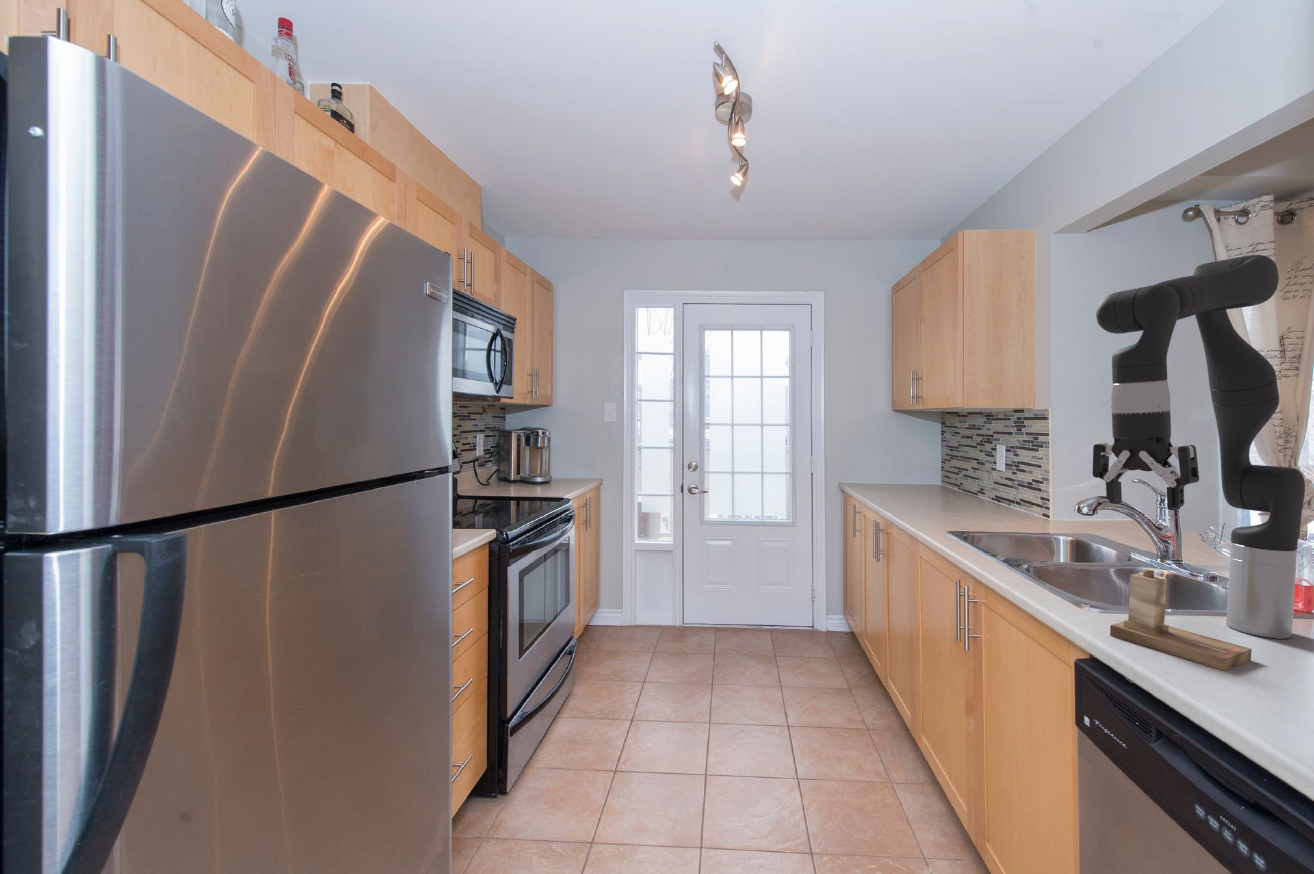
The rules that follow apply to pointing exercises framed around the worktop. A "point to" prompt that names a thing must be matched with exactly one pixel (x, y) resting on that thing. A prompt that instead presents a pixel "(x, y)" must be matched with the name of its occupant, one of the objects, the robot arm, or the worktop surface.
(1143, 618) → the pale wood tall block
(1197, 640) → the plank
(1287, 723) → the worktop surface
